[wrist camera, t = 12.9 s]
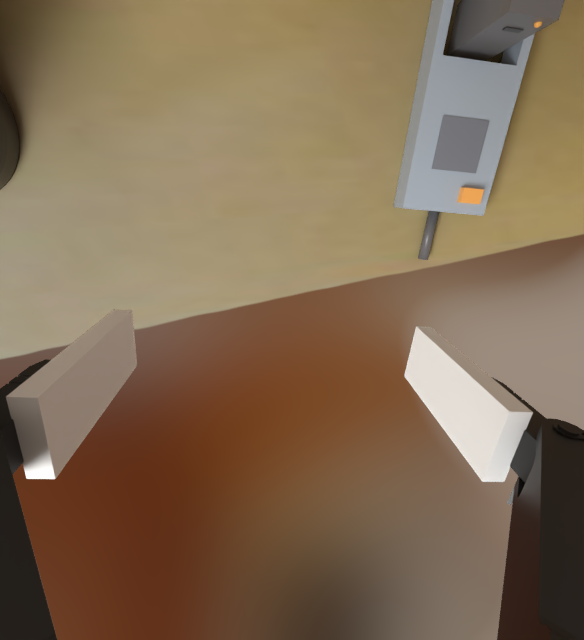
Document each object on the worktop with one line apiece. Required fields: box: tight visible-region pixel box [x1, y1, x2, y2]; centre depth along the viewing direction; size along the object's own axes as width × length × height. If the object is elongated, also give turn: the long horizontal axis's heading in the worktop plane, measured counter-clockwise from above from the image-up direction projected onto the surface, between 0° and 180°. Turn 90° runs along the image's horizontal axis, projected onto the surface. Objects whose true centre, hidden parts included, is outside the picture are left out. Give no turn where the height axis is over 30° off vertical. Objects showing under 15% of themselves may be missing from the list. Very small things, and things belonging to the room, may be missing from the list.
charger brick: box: [447, 0, 564, 61], centre depth 31 cm, size 4×5×10 cm
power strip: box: [394, 0, 535, 260], centre depth 37 cm, size 10×30×4 cm, turn 175°
